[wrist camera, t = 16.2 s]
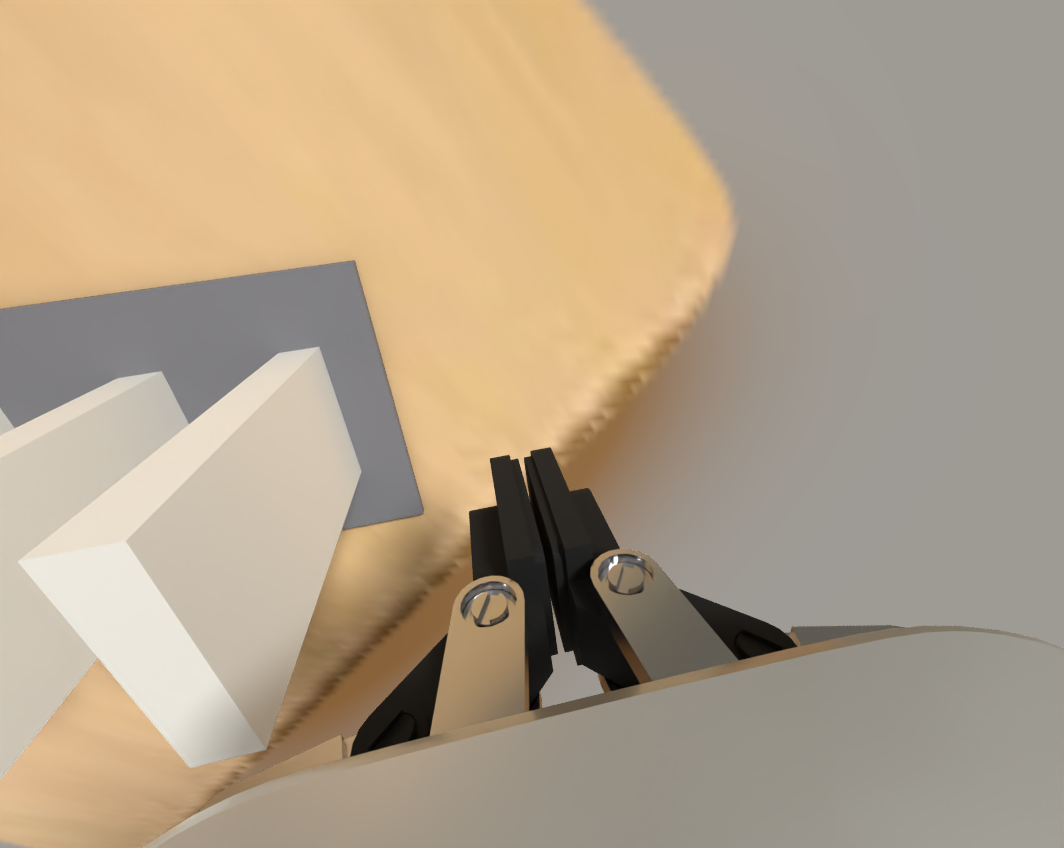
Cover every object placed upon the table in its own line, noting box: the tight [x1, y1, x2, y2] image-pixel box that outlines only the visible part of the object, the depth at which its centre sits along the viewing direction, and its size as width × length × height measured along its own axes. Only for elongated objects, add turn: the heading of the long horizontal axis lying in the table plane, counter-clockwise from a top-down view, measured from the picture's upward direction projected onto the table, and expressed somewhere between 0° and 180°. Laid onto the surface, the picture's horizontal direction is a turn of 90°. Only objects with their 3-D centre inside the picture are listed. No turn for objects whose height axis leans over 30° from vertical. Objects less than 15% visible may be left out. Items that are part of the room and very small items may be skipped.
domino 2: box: [18, 347, 362, 768], centre depth 14 cm, size 2×6×12 cm, turn 7°
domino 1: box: [0, 371, 189, 780], centre depth 13 cm, size 2×6×12 cm, turn 7°
